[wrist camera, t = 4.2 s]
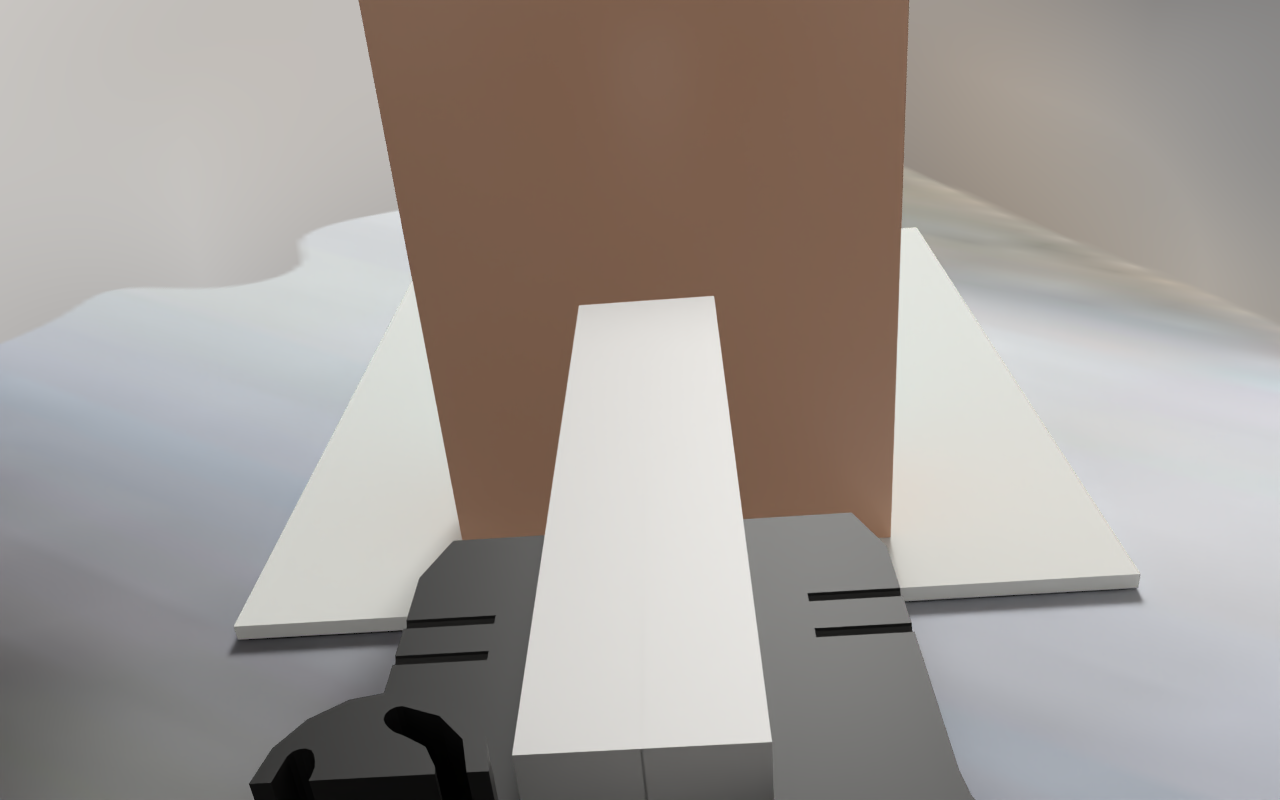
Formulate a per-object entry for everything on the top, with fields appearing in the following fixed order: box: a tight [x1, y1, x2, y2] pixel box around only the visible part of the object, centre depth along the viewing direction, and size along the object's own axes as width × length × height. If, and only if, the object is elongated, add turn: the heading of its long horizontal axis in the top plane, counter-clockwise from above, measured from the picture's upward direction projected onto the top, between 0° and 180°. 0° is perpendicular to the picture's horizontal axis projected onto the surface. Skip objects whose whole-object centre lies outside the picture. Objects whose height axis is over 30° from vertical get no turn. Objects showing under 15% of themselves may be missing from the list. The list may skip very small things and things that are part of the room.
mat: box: [234, 227, 1140, 640], centre depth 27 cm, size 16×18×1 cm
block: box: [359, 0, 909, 540], centre depth 19 cm, size 8×3×12 cm, turn 89°
